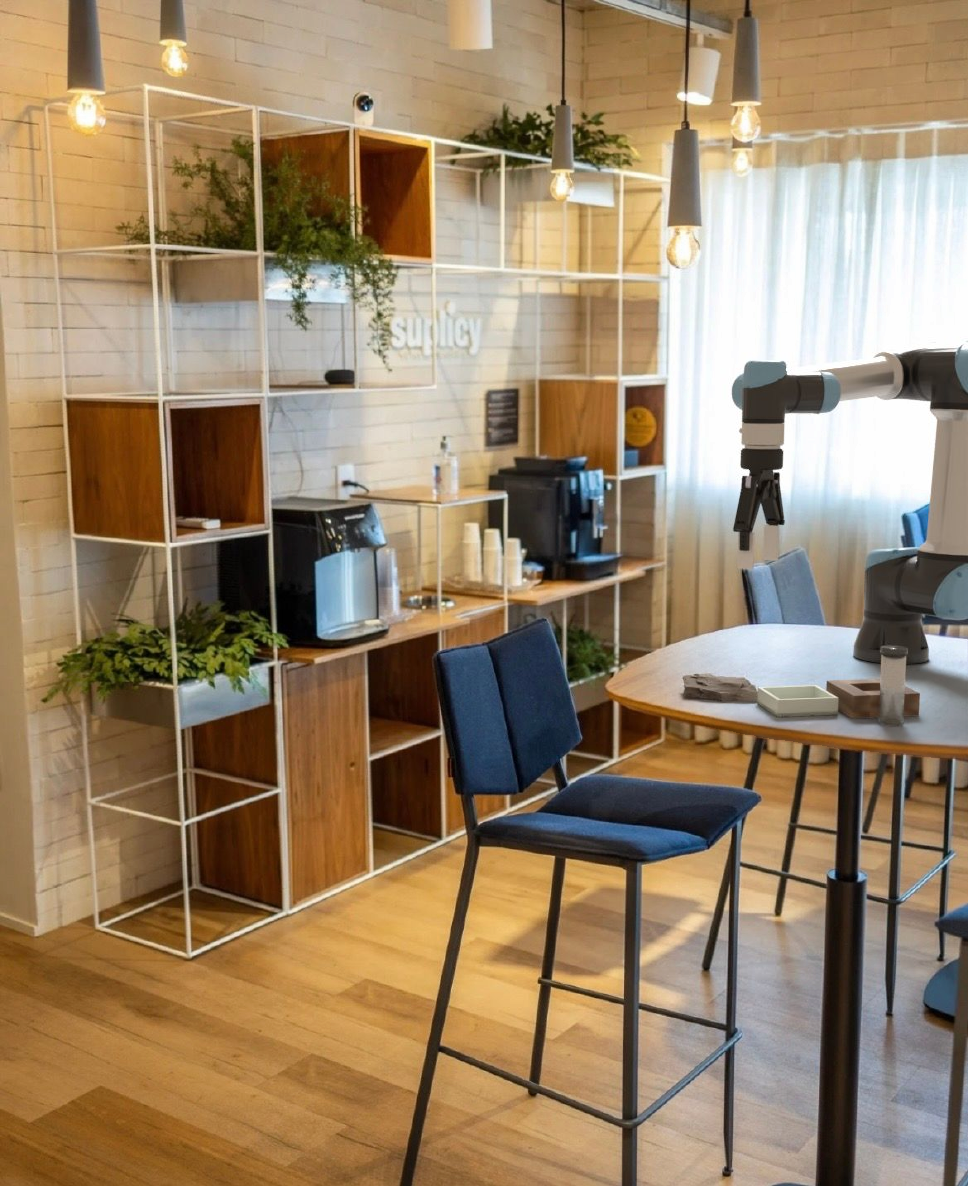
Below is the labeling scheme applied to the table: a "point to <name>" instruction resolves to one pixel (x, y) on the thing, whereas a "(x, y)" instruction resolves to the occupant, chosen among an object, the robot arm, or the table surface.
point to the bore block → (867, 698)
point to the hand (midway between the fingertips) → (758, 564)
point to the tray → (797, 700)
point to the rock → (719, 688)
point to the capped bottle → (892, 685)
